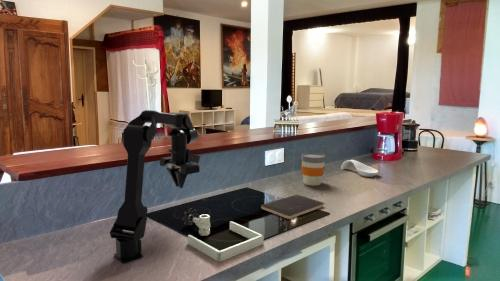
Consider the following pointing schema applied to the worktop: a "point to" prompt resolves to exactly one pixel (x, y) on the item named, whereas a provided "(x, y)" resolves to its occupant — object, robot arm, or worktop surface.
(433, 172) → the worktop surface
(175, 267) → the worktop surface
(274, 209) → the hardcover book
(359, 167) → the spoon rest
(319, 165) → the reusable coffee cup
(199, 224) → the valve
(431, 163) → the worktop surface
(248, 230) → the u-shaped bracket
